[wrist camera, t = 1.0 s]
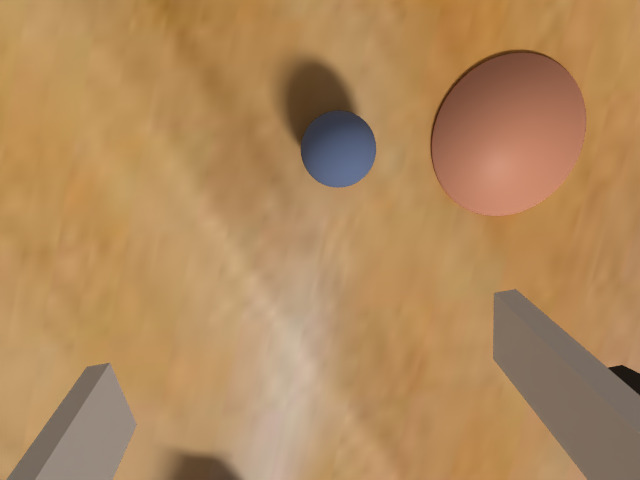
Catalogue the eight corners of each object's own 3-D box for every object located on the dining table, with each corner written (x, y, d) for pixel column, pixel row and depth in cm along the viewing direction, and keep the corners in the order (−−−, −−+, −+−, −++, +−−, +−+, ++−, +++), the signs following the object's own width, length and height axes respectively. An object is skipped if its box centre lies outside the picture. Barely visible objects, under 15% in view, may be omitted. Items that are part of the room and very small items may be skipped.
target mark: (411, 92, 30) (412, 92, 30) (571, 25, 30) (573, 24, 30) (454, 237, 35) (454, 237, 35) (594, 181, 34) (595, 182, 34)
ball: (288, 126, 31) (289, 130, 25) (354, 98, 30) (368, 97, 25) (315, 190, 32) (320, 206, 27) (376, 164, 32) (394, 176, 27)
